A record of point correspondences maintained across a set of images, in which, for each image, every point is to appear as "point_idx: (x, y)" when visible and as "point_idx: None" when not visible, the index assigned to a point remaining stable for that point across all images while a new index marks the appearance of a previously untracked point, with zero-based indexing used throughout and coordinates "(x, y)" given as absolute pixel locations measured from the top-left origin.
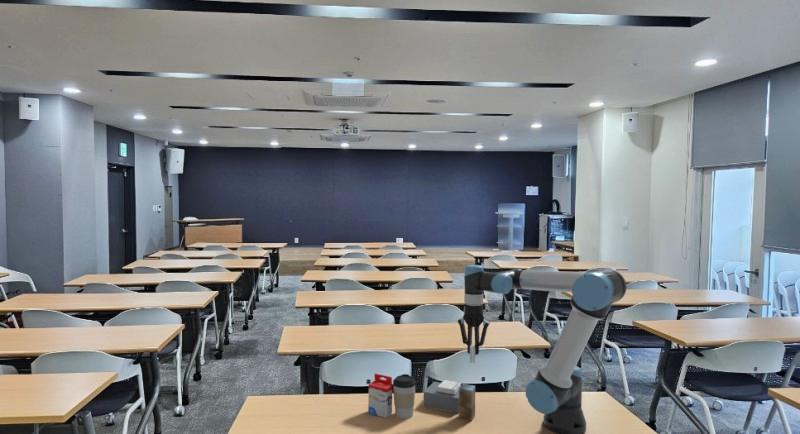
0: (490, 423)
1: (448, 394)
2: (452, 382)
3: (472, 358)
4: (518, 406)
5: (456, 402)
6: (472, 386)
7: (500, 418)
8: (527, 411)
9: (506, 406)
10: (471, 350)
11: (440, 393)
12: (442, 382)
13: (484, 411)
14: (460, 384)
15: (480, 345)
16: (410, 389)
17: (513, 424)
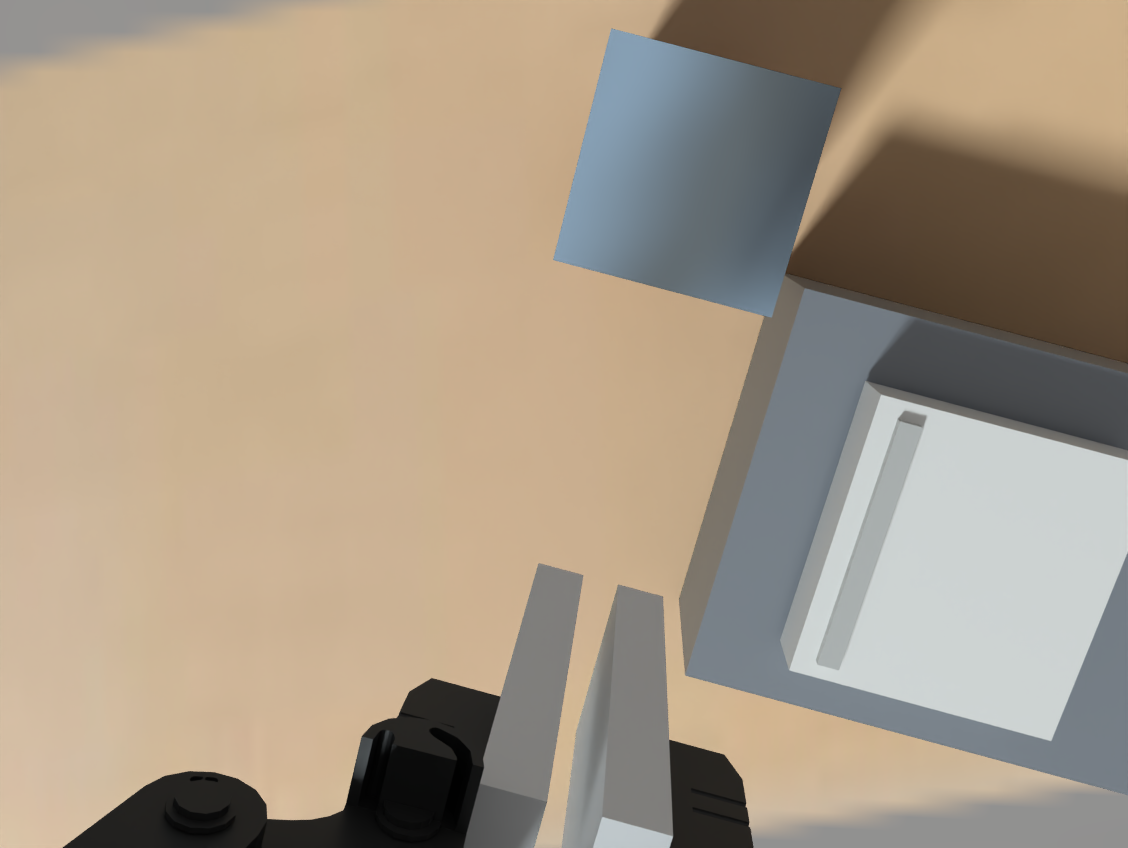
0: (404, 83)
1: (957, 398)
2: (919, 666)
3: (593, 692)
4: (114, 571)
5: (827, 291)
6: (602, 224)
7: (297, 235)
8: (18, 465)
9: (240, 550)
10: (613, 743)
11: (1077, 411)
12: (1079, 641)
13: (478, 380)
14: (793, 644)
15: (231, 787)
16: None
17: (153, 113)
